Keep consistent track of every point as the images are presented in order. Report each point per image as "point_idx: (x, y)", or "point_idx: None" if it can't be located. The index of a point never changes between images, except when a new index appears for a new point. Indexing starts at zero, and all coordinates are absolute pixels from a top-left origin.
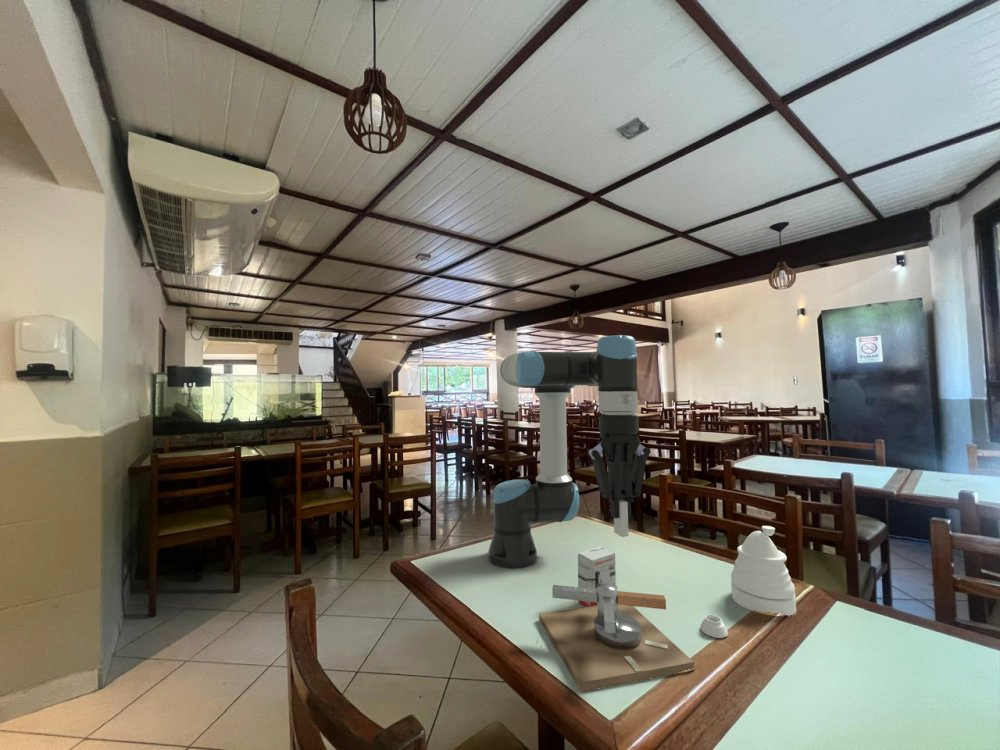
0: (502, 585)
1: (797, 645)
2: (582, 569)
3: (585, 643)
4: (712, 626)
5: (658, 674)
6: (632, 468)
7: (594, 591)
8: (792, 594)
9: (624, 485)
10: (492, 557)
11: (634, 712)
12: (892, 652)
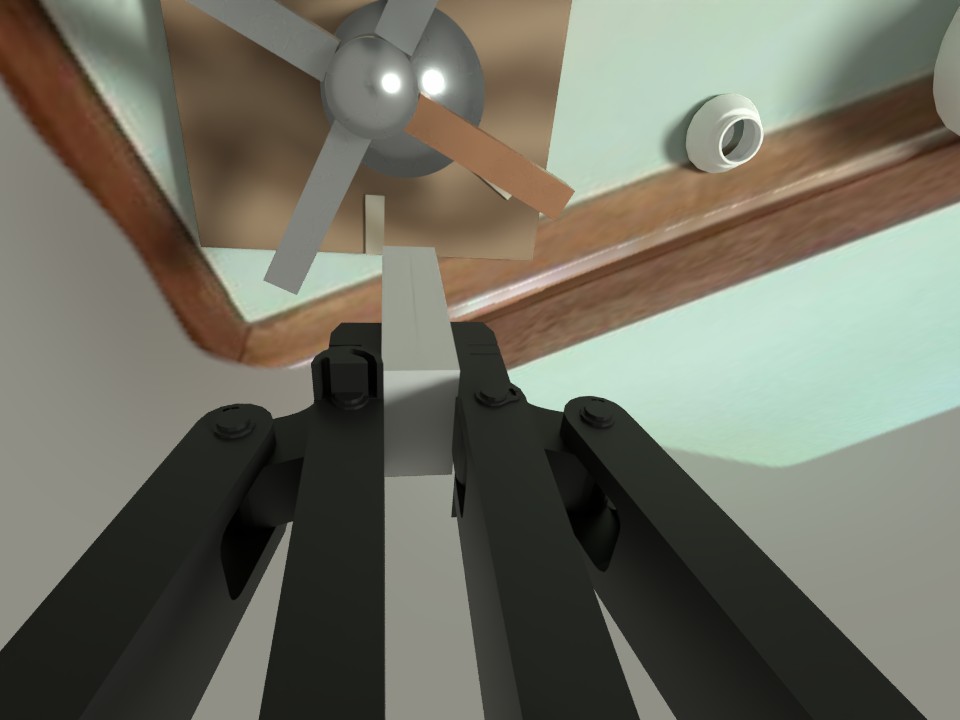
0: None
1: (831, 247)
2: None
3: (274, 90)
4: (709, 156)
5: None
6: (761, 664)
7: (317, 62)
8: None
9: (469, 563)
10: None
11: (311, 318)
12: (953, 318)
